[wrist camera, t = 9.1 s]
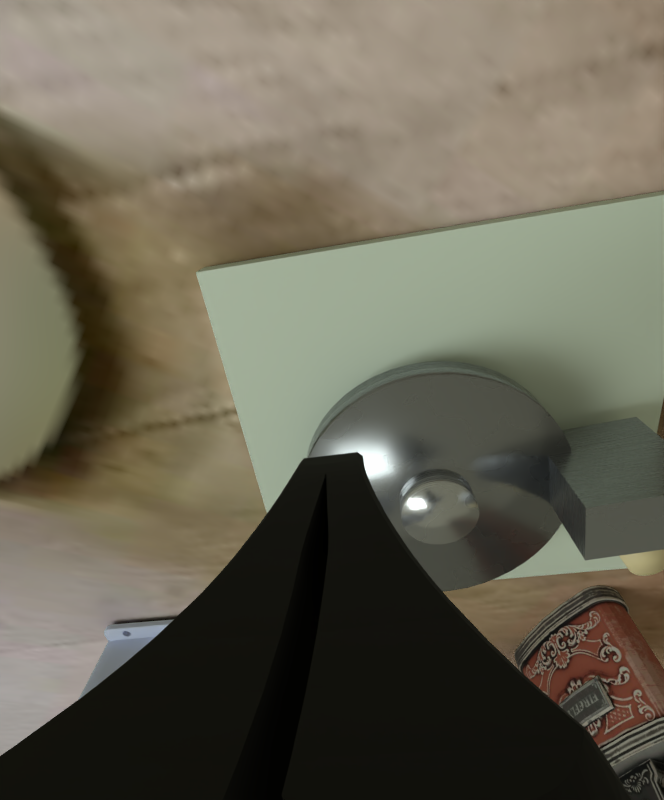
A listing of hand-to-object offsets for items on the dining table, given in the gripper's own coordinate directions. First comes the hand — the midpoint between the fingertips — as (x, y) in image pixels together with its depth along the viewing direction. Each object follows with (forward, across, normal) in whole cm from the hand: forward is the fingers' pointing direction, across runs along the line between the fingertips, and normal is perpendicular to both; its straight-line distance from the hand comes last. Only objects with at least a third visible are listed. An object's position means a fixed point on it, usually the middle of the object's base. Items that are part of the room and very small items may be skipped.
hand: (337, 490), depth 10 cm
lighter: (+10, -11, +20) cm, 25 cm away
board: (+10, -4, +5) cm, 12 cm away
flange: (+8, -4, +6) cm, 11 cm away
